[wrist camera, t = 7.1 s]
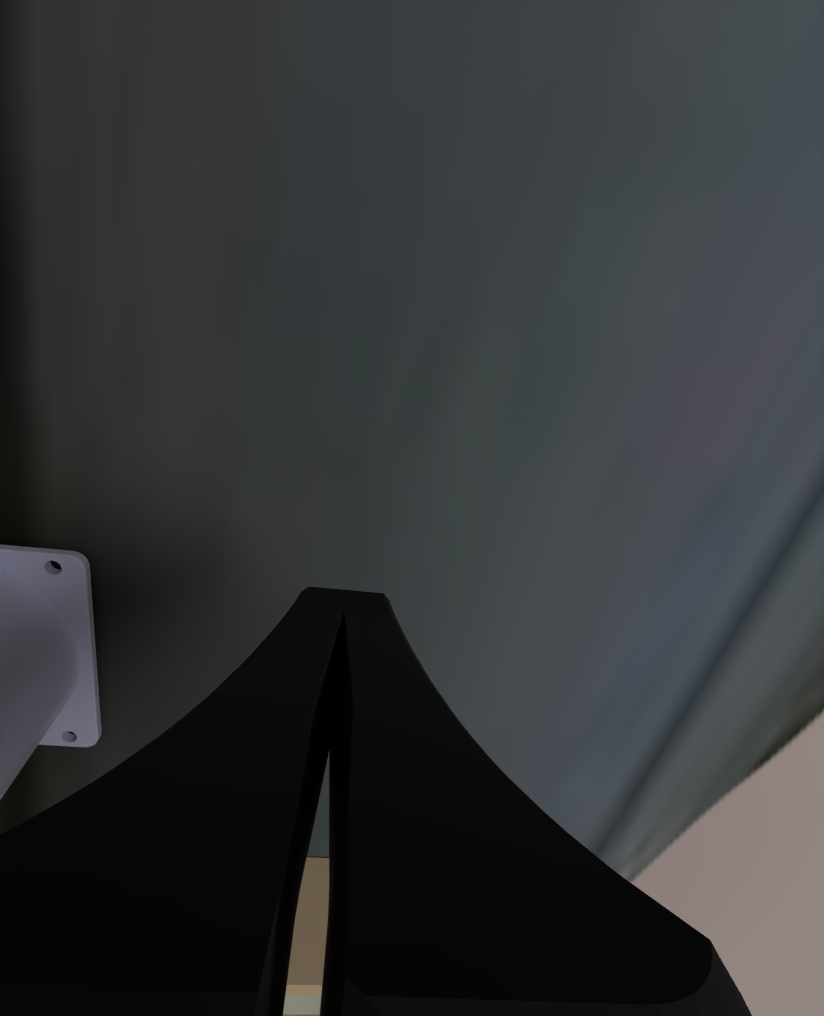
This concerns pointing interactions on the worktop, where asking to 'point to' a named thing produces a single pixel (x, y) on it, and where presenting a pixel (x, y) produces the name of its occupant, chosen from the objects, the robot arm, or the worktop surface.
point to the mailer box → (308, 941)
